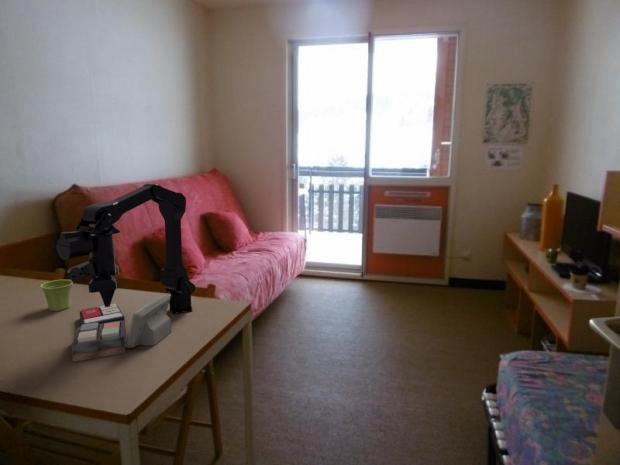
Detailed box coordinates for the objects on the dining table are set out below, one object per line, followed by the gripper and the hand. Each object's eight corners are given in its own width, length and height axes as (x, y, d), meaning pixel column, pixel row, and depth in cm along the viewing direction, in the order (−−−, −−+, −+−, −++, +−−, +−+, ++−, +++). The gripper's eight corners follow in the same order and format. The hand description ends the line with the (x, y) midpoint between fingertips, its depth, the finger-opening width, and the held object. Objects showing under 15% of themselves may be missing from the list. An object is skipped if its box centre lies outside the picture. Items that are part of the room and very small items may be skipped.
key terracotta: (120, 328, 116) (119, 321, 116) (120, 334, 112) (119, 327, 112) (104, 331, 114) (104, 323, 114) (104, 336, 111) (103, 329, 110)
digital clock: (159, 324, 124) (156, 291, 122) (182, 329, 121) (180, 295, 119) (116, 347, 109) (112, 310, 107) (141, 353, 106) (138, 315, 104)
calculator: (116, 302, 134) (124, 314, 121) (118, 314, 134) (125, 328, 122) (78, 308, 128) (82, 322, 115) (80, 321, 128) (84, 336, 116)
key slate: (98, 329, 114) (97, 322, 113) (97, 335, 110) (96, 327, 110) (82, 332, 112) (81, 324, 112) (81, 337, 109) (80, 330, 108)
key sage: (119, 334, 111) (118, 326, 110) (119, 340, 107) (118, 332, 107) (103, 336, 109) (102, 329, 109) (102, 342, 106) (101, 335, 105)
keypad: (125, 331, 119) (124, 318, 118) (125, 352, 106) (123, 338, 106) (79, 338, 114) (78, 325, 113) (72, 361, 102) (71, 347, 101)
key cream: (97, 337, 109) (96, 330, 108) (95, 343, 105) (95, 336, 105) (80, 340, 107) (79, 332, 107) (78, 346, 104) (77, 338, 103)
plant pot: (78, 301, 143) (75, 278, 142) (72, 311, 134) (69, 286, 133) (48, 304, 140) (45, 280, 139) (39, 314, 132) (36, 289, 130)
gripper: (72, 247, 114) (78, 299, 117) (62, 263, 97) (69, 324, 100) (116, 244, 118) (120, 294, 121) (113, 258, 101) (118, 317, 104)
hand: (107, 306), depth 111 cm, fingers closed
